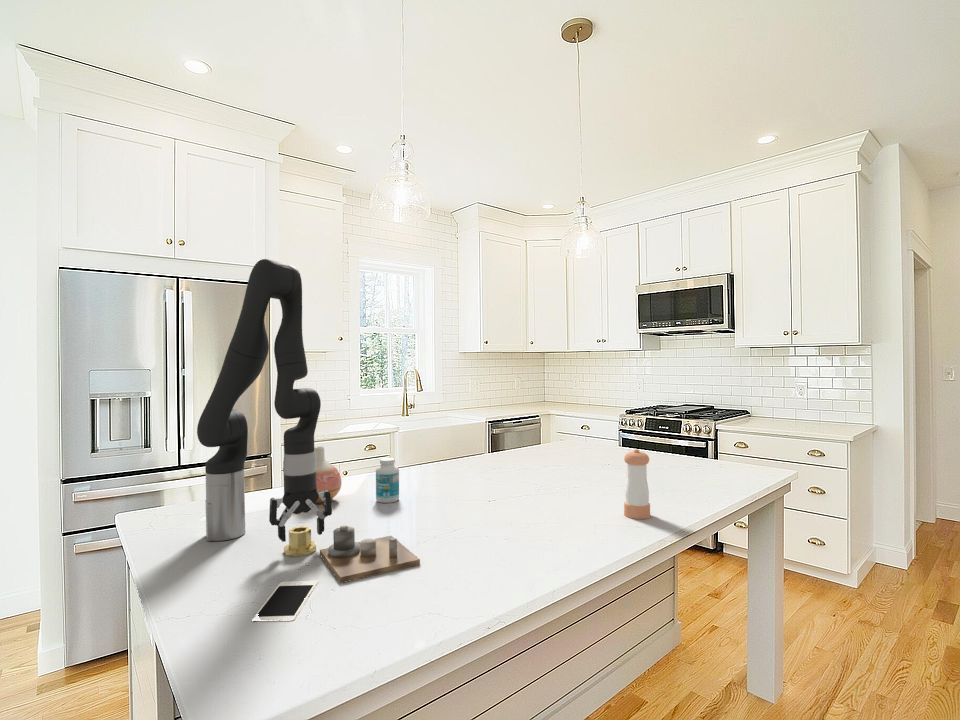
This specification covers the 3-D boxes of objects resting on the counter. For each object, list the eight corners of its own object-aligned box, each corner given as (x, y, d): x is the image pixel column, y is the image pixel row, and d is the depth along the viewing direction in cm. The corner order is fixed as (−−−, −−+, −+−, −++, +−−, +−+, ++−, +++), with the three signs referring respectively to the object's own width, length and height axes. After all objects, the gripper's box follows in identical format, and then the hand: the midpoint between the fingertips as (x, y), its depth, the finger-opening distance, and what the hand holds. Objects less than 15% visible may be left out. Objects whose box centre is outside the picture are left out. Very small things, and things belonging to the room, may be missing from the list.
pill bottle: (371, 502, 168) (370, 460, 168) (385, 496, 175) (385, 456, 175) (389, 504, 165) (389, 462, 165) (403, 498, 171) (403, 457, 171)
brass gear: (287, 558, 122) (287, 536, 122) (282, 549, 128) (282, 528, 128) (318, 552, 126) (317, 531, 126) (311, 543, 132) (311, 523, 132)
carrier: (340, 583, 109) (340, 548, 109) (319, 554, 124) (319, 524, 124) (420, 564, 118) (419, 532, 118) (391, 540, 134) (391, 512, 133)
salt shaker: (651, 519, 147) (651, 452, 147) (625, 518, 149) (624, 451, 148) (648, 512, 154) (648, 447, 154) (623, 510, 156) (622, 446, 156)
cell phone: (318, 583, 110) (318, 580, 110) (294, 623, 94) (294, 619, 94) (280, 584, 110) (280, 581, 110) (249, 624, 93) (249, 621, 93)
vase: (314, 510, 160) (313, 452, 160) (289, 502, 168) (288, 448, 168) (350, 499, 171) (349, 446, 171) (324, 493, 179) (323, 442, 179)
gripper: (271, 477, 120) (273, 548, 120) (333, 469, 127) (335, 535, 127) (266, 472, 126) (268, 538, 127) (325, 464, 134) (327, 527, 134)
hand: (301, 537), depth 127 cm, fingers open, 8 cm apart
